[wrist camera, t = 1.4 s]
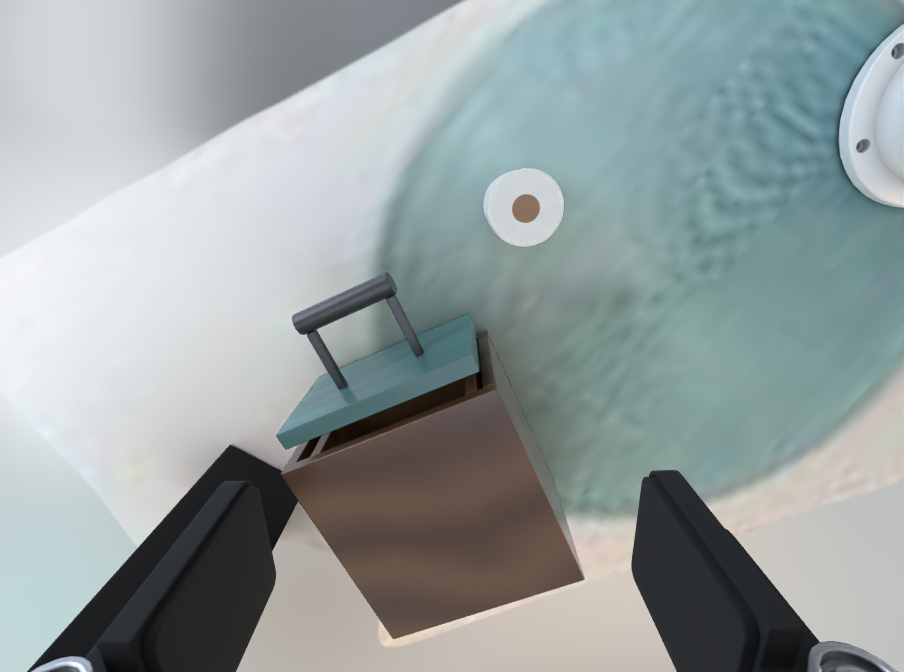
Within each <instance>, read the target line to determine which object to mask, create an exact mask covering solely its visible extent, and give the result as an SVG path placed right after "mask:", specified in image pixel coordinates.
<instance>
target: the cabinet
mask: <svg viewBox="0 0 904 672" xmlns="http://www.w3.org/2000/svg"><path fill="white" fill-rule="evenodd" d="M476 340H477V350H478V357H479V359H480V363H481V373H482V382H483V388H482V389H480V390H477V391H475V392H472V393H470V394H467V395H465V396H462V397H460V398H457V399H455V400H452V401H450V402H447V403H445V404H442V405H440V406H437V407H434V408H432V409H429V410H427V411H424V412H422V413H419V414H417V415H414V416H412V417H409V418H407V419H404V420H402V421H399V422H397V423H394V424H392V425H389V426H387V427H384V428H382V429H379V430H377V431H374V432H372V433H369V434H367V435H364V436H361V437H359V438H356V439H354V440H351V441H349V442H346V443H344V444H341V445H339V446H336V447H334V448H331V449H329V450H326V451H324V452H321V453H319V454H316V455H314V456H311V454H312V452H313V451H314V449H315V447H316V445H317V443H318V442H319V440H320V438H321V436H322V435H321V436H319V437H316V438H314V439H311V440H309V441H306V442H304V443H301V444H299V446H298V447H297V449H296V451H295V452H294V454H293V455H292V457H291V459H290V460H289V462H288V463H287V465H286V467H285V468H284V470H283V471H282V473H281V476H282V477H283V479H284V480H285V482H286V483H287V485H288V486H289V487H290V489H291V490H292V492H293V493H294V495H295V496H296V498H297V499H298V501H299V502H300V504H301V505H302V506H303V508H304V509H305V511H306V512H307V514H308V515H309V517H310V518H311V520H312V521H313V523H314V524H315V526H316V527H317V528H318V530H319V531H320V533H321V534H322V536H323V537H324V539H325V540H326V542H327V543H328V545H329V546H330V547H331V549H332V550H333V552H334V553H335V555H336V556H337V558H338V559H339V561H340V562H341V563H342V565H343V567H344V568H345V569H346V571H347V572H348V574H349V575H350V577H351V578H352V580H353V581H354V583H355V584H356V586H357V587H358V588H359V590H360V591H361V593H362V594H363V596H364V597H365V599H366V600H367V602H368V603H369V605H370V606H371V608H372V609H373V610H374V612H375V613H376V615H377V616H378V618H379V619H380V621H381V622H382V624H383V625H384V627H385V628H386V630H387V631H388V632H389V634H390V635H391V637H392V638H393V639H396V638H399V637H403V636H406V635H409V634H412V633H415V632H419V631H422V630H425V629H428V628H431V627H435V626H438V625H441V624H444V623H447V622H451V621H454V620H457V619H460V618H463V617H467V616H470V615H473V614H476V613H479V612H483V611H486V610H489V609H492V608H495V607H499V606H502V605H505V604H508V603H511V602H515V601H518V600H521V599H524V598H527V597H531V596H534V595H537V594H540V593H543V592H547V591H550V590H553V589H556V588H559V587H563V586H566V585H569V584H572V583H575V582H579V581H582V580H584V579H585V578H584V575H583V571H582V569H581V565H580V562H579V559H578V556H577V552H576V549H575V546H574V543H573V540H572V536H571V533H570V530H569V527H568V524H567V521H566V517H565V514H564V511H563V508H562V505H561V501H560V498H559V495H558V492H557V489H556V485H555V482H554V479H553V477H552V475H551V472H550V470H549V468H548V466H547V464H546V461H545V459H544V457H543V455H542V452H541V450H540V448H539V446H538V444H537V441H536V439H535V437H534V435H533V432H532V430H531V428H530V426H529V424H528V421H527V419H526V417H525V415H524V412H523V410H522V408H521V406H520V404H519V401H518V399H517V397H516V395H515V392H514V390H513V388H512V386H511V383H510V381H509V379H508V377H507V375H506V372H505V370H504V368H503V366H502V363H501V361H500V359H499V357H498V355H497V352H496V350H495V348H494V346H493V343H492V341H491V339H490V337H489V335H488V332H487V331H485V332H483V333H480V334H478V335H476ZM310 456H311V457H310Z"/></svg>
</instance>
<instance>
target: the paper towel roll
mask: <svg viewBox="0 0 904 672" xmlns="http://www.w3.org/2000/svg"><path fill="white" fill-rule="evenodd" d="M483 210H484V214H485V217H486V220H487V222H488V223H489V225H490V226H491V227H492V229H493V230H494V232H495V233H496V234H497V235H498V236H499V237H500V238H501V239H502V240H503V241H505V242H506V243H508V244H511V245H514V246H518V247H530V246H534V245H537V244H540V243H542V242H544V241H545V240H547V239H548V238H549V237H550V236H551V235H552V234H553V233H554V232H555V231H556V229H557V228H558V226H559V224H560V222H561V220H562V217H563V212H564V199H563V194H562V191H561V189H560V187H559V185H558V184H557V182H556V181H555V180H554V179H553V178H552V177H551V176H550V175H549V174H547V173H546V172H544V171H541V170H538V169H534V168H521V169H517V170H514V171H510V172H507V173H504V174H502V175H500V176H499V177H497V178H496V179H495V180H494V181H493V182H492V183H491V184H490V185H489V187H488V189H487V191H486V193H485V196H484V201H483Z"/></svg>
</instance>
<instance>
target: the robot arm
mask: <svg viewBox="0 0 904 672" xmlns="http://www.w3.org/2000/svg"><path fill="white" fill-rule="evenodd" d="M839 147H840V157H841V160H842V163H843V166H844V169H845V172H846V173H847V175H848V177H849V178H850V180H851V181H852V183H853V185H854V186H855V187H856V188H857V189H858V190H860V191H861V192H862V193H863V194H864V195H865V196H867V197H868V198H870V199H872V200H874V201H876V202H878V203H881V204H884V205H888V206H892V207H900V208H904V24H903V25H901V26H900V27H898V28H897V29H896V30H895V31H894V32H893V33H892V34H891V35H890V36H888V37H887V38H886V39H885V40H884V41H883V42H882V43H881V44H880V45H879V46H878V48H877V49H876V50H875V51H874V52H873V54H872V55H871V56H870V57H869V58H868V59H867V61H866V62H865V64H864V66H863V67H862V69H861V70H860V72H859V74H858V75H857V77H856V78H855V80H854V82H853V84H852V87H851V89H850V91H849V93H848V96H847V98H846V100H845V104H844V108H843V112H842V115H841V119H840V129H839ZM631 566H632V573H633V577H634V580H635V582H636V585H637V587H638V589H639V591H640V593H641V595H642V597H643V600H644V602H645V604H646V606H647V608H648V610H649V613H650V615H651V617H652V619H653V621H654V623H655V625H656V628H657V630H658V632H659V634H660V636H661V638H662V641H663V643H664V645H665V647H666V649H667V651H668V653H669V656H670V658H671V660H672V662H673V664H674V666H675V668H676V671H677V672H897V671H896V670H895V669H894V668H892V667H891V666H890V665H888V664H887V663H885V662H884V661H883V660H881V659H879V658H878V657H876V656H874V655H872V654H870V653H869V652H867V651H865V650H863V649H860V648H857V647H855V646H852V645H849V644H846V643H841V642H835V641H827V642H819V641H818V639H817V638H816V637H815V636H814V634H813V633H812V632H811V631H810V629H809V628H808V627H807V626H806V625H805V623H804V622H803V621H802V620H801V618H800V617H799V616H798V615H797V613H796V612H795V611H794V610H793V608H792V607H791V606H790V605H789V604H788V602H787V601H786V600H785V599H784V598H783V596H782V595H781V594H780V592H779V591H778V590H777V589H776V588H775V586H774V585H773V584H772V583H771V581H770V580H769V579H768V578H767V576H766V575H765V574H764V573H763V571H762V570H761V569H760V568H759V566H758V565H757V564H756V563H755V562H754V560H753V559H752V558H751V557H750V555H749V554H748V553H747V552H746V550H745V549H744V548H743V547H742V546H741V544H740V543H739V542H738V541H737V539H736V538H735V537H734V536H733V535H732V534H731V533H730V532H729V531H728V530H726V529H725V528H724V527H723V526H722V525H721V523H720V522H719V521H718V520H717V518H716V517H715V516H714V515H713V513H712V512H711V511H710V510H709V508H708V507H707V506H706V505H705V503H704V502H703V501H702V500H701V498H700V497H699V496H698V495H697V493H696V492H695V491H694V490H693V488H692V487H691V486H690V485H689V483H688V482H687V481H686V480H685V478H684V477H683V476H682V475H681V473H679V472H678V471H676V470H661V471H651V472H650V474H649V477H644V478H643V480H642V486H641V493H640V501H639V509H638V517H637V524H636V532H635V540H634V547H633V555H632V565H631ZM275 579H276V570H275V565H274V560H273V555H272V550H271V545H270V541H269V536H268V531H267V526H266V521H265V516H264V511H263V507H262V502H261V497H260V492H259V489H258V488H257V487H253V486H252V484H251V482H250V481H225V482H223V483H222V484H221V485H220V486H219V487H218V488H217V490H216V491H215V492H214V493H213V495H212V496H211V497H210V499H209V500H208V501H207V502H206V504H205V505H204V506H203V507H202V509H201V510H200V511H199V513H198V514H197V515H196V516H195V518H194V519H193V520H192V521H191V523H190V524H189V525H188V527H187V528H186V529H185V530H184V532H183V533H182V534H181V535H180V537H179V538H178V539H177V540H176V542H175V543H174V544H173V546H172V547H171V548H170V549H169V551H168V552H167V553H166V554H165V556H164V557H163V558H162V560H161V561H160V562H159V563H158V565H157V566H156V567H155V568H154V570H153V571H152V572H151V574H150V575H149V576H148V577H147V579H146V580H145V581H144V582H143V584H142V585H141V586H140V588H139V589H138V590H137V591H136V593H135V594H134V595H133V596H132V598H131V599H130V600H129V602H128V603H127V604H126V605H125V607H124V608H123V609H122V610H121V612H120V613H119V614H118V616H117V617H116V618H115V619H114V621H113V622H112V623H111V624H110V626H109V627H108V628H107V630H106V631H105V632H104V633H103V635H102V636H101V637H100V638H99V640H98V641H97V642H96V644H95V645H94V646H93V648H92V649H91V650H90V652H89V653H88V654H87V655H86V657H85V658H83V657H74V656H70V657H65V658H61V659H56V660H54V661H51V662H49V663H47V664H44V665H42V666H40V667H38V668H36V669H35V670H33V671H31V672H236V670H237V668H238V666H239V663H240V661H241V659H242V657H243V655H244V653H245V650H246V648H247V646H248V644H249V641H250V639H251V637H252V634H253V633H254V630H255V628H256V626H257V623H258V621H259V619H260V617H261V615H262V612H263V610H264V608H265V606H266V604H267V601H268V599H269V597H270V595H271V592H272V590H273V588H274V585H275Z"/></svg>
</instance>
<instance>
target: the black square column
mask: <svg viewBox="0 0 904 672" xmlns="http://www.w3.org/2000/svg"><path fill="white" fill-rule="evenodd" d="M281 473H282V472H280V471H278V470H277V469H275V468H273V467H271V466H269V465H267V464H265V463H263V462H261V461H260V460H258V459H256V458H254V457H252V456H250V455H248V454H246V453H244V452H243V451H241V450H239V449H237V448H235V447H233V446H231V445H229V447H228V448H227V449H226V450H225V451H224V452H223V453H222V454H221V456H220V457H219V458H218V459H217V460H216V461H215V462H214V463H213V464H212V466H211V467H210V468H209V469H208V470H207V471H206V472H205V473H204V475H203V476H202V477H201V478H200V479H199V480H198V481H197V482H196V483H195V485H194V486H193V487H192V488H191V489H190V490H189V491H188V492H187V494H186V495H185V496H184V497H183V498H182V499H181V500H180V501H179V502H178V504H177V505H176V506H175V507H174V508H173V509H172V510H171V511H170V513H169V514H168V515H167V516H166V517H165V518H164V519H163V520H162V522H161V523H160V524H159V525H158V526H157V527H156V528H155V529H154V530H153V532H152V533H151V534H150V535H149V536H148V537H147V538H146V539H145V541H144V542H143V543H142V544H141V545H140V546H139V547H138V548H137V549H136V551H135V552H134V553H133V554H132V555H131V556H130V557H129V558H128V560H127V561H126V562H125V563H124V564H123V565H122V566H121V568H120V569H119V570H118V571H117V572H116V573H115V574H114V575H113V576H112V577H111V579H110V580H109V581H108V582H107V583H106V584H105V585H104V586H103V587H102V589H101V590H100V591H99V592H98V593H97V594H96V595H95V596H94V598H93V599H92V600H91V601H90V602H89V603H88V604H87V605H86V606H85V608H84V609H83V610H82V611H81V612H80V613H79V615H77V617H76V618H75V619H74V620H73V621H72V622H71V623H70V624H69V626H68V627H67V628H66V629H65V630H64V631H63V632H62V633H61V635H60V636H59V637H58V638H57V639H56V640H55V641H54V642H53V643H52V645H51V646H50V647H49V648H48V649H47V650H46V651H45V652H44V653H43V655H42V656H41V657H40V658H39V659H38V660H37V661H36V662H35V664H34V665H33V666H32V667H31V668H30V669H29V670H28V671H27V672H31V671H33V670H35V669H36V668H38V667H40V666H42V665H44V664H47V663H49V662H51V661H54V660H56V659H61V658H65V657H70V656H74V657H83V658H85V657H86V655H87V654H88V653H89V652H90V650H91V649H92V648H93V646H94V645H95V644H96V642H97V641H98V640H99V638H100V637H101V636H102V635H103V633H104V632H105V631H106V630H107V628H108V627H109V626H110V624H111V623H112V622H113V621H114V619H115V618H116V617H117V616H118V614H119V613H120V612H121V610H122V609H123V608H124V607H125V605H126V604H127V603H128V602H129V600H130V599H131V598H132V596H133V595H134V594H135V593H136V591H137V590H138V589H139V588H140V586H141V585H142V584H143V582H144V581H145V580H146V579H147V577H148V576H149V575H150V574H151V572H152V571H153V570H154V568H155V567H156V566H157V565H158V563H159V562H160V561H161V560H162V558H163V557H164V556H165V554H166V553H167V552H168V551H169V549H170V548H171V547H172V546H173V544H174V543H175V542H176V540H177V539H178V538H179V537H180V535H181V534H182V533H183V532H184V530H185V529H186V528H187V527H188V525H189V524H190V523H191V521H192V520H193V519H194V518H195V516H196V515H197V514H198V513H199V511H200V510H201V509H202V507H203V506H204V505H205V504H206V502H207V501H208V500H209V499H210V497H211V496H212V495H213V493H214V492H215V491H216V490H217V488H218V487H219V486H220V485H221V484H222V483H223V482H225V481H250V482H251V484H252V486H253V487H257V488H258V489H259V492H260V497H261V502H262V507H263V511H264V516H265V521H266V526H267V531H268V536H269V541H270V545H271V550H272V551H273V548H274V547H275V545H276V543H277V541H278V539H279V537H280V535H281V533H282V531H283V529H284V527H285V525H286V524H287V522H288V520H289V518H290V516H291V514H292V512H293V510H294V508H295V506H296V504H297V502H298V499H297V498H296V496H295V495H294V493H293V492H292V490H291V489H290V487H289V486H288V485H287V483H286V482H285V480H284V479H283V477H282V476H281Z"/></svg>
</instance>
